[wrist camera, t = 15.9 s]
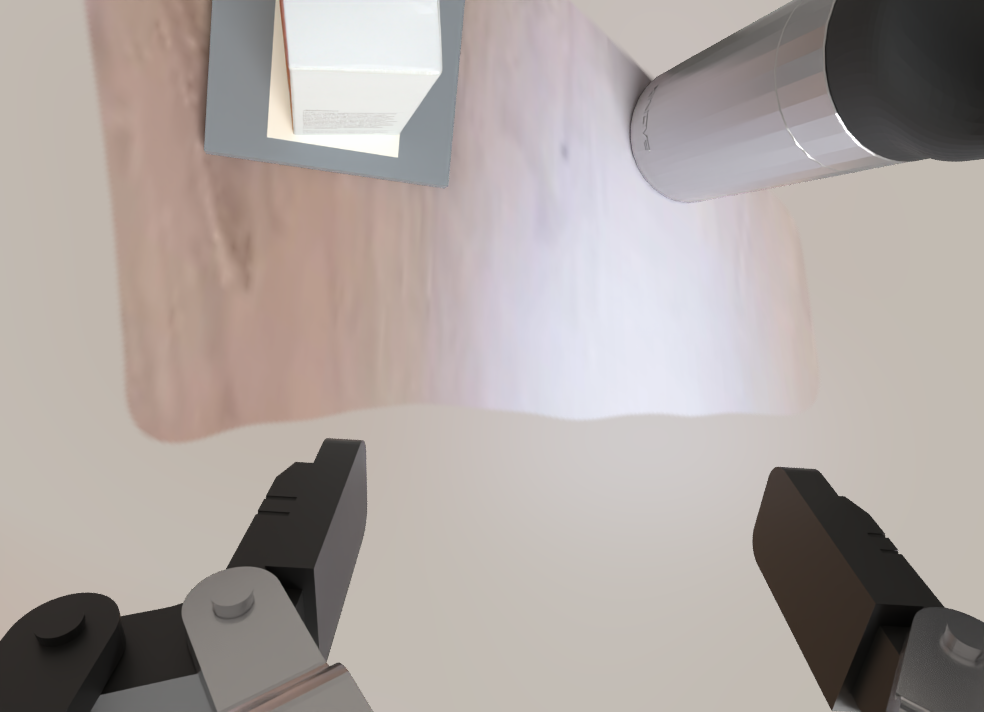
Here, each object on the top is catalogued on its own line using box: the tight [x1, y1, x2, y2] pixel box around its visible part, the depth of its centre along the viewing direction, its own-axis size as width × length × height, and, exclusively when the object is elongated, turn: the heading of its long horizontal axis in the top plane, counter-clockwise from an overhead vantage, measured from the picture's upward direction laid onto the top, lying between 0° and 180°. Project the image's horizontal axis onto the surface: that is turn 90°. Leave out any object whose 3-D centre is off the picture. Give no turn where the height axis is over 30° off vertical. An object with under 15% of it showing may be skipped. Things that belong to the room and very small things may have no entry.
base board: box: [204, 0, 465, 188], centre depth 38 cm, size 14×12×1 cm
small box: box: [279, 0, 442, 135], centre depth 31 cm, size 8×6×13 cm
